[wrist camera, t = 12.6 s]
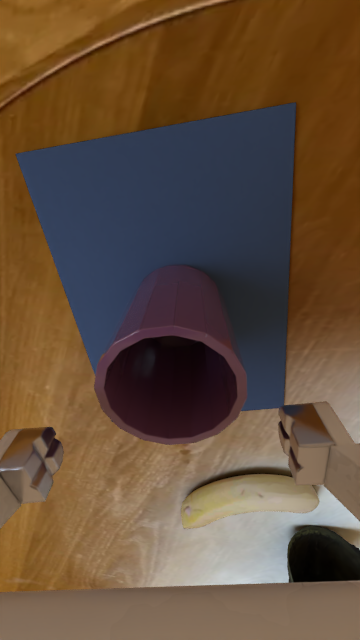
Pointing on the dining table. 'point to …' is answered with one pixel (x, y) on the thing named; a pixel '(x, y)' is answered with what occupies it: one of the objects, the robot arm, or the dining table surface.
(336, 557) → the vase with red roses
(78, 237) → the rectangular board
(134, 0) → the dining table surface
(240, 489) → the fruit
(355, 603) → the robot arm
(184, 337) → the cup
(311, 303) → the dining table surface
